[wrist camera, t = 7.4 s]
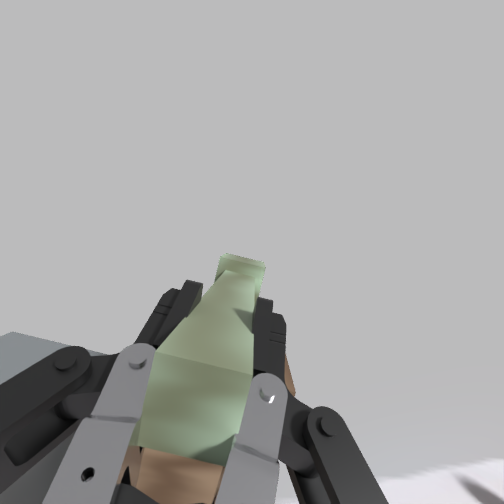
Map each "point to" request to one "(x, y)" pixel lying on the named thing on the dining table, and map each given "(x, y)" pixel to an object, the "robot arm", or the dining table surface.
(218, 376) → the peg
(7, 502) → the grey stand
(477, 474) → the dining table surface
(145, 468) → the walnut stand
